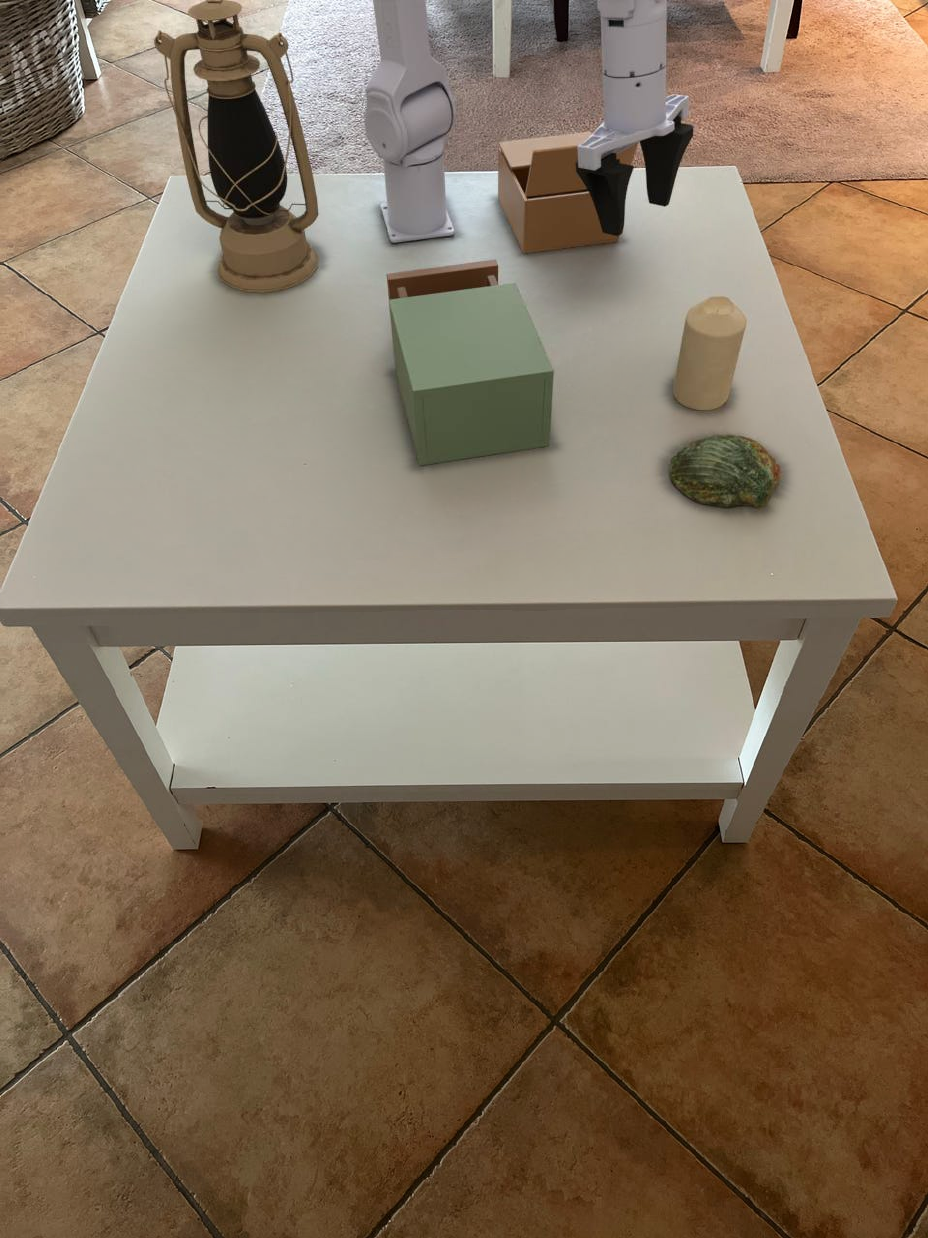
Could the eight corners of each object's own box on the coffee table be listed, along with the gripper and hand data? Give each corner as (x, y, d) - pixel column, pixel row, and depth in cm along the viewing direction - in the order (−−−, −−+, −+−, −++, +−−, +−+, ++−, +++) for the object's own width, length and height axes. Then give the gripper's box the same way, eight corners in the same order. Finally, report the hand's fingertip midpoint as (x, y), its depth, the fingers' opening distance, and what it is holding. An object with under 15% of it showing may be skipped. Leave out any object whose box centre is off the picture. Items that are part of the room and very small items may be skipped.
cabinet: (395, 373, 95) (388, 299, 88) (514, 357, 96) (515, 282, 89) (419, 466, 86) (412, 391, 79) (549, 446, 87) (554, 370, 80)
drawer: (386, 310, 101) (380, 252, 95) (487, 296, 102) (487, 238, 96) (412, 409, 90) (407, 350, 84) (525, 392, 91) (527, 333, 85)
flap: (624, 182, 105) (624, 184, 105) (525, 194, 103) (525, 196, 103) (638, 137, 98) (639, 140, 98) (532, 150, 97) (533, 152, 97)
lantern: (194, 289, 106) (109, -12, 82) (223, 236, 113) (152, -54, 90) (316, 295, 104) (265, -10, 81) (337, 241, 112) (296, -53, 88)
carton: (618, 241, 110) (624, 182, 105) (523, 253, 109) (524, 194, 103) (586, 187, 119) (590, 130, 113) (497, 198, 117) (498, 141, 112)
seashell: (747, 393, 84) (815, 459, 79) (741, 427, 88) (805, 493, 82) (653, 430, 83) (714, 500, 77) (650, 463, 86) (708, 533, 80)
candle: (727, 413, 89) (749, 324, 82) (670, 407, 90) (687, 318, 82) (729, 379, 93) (750, 290, 85) (674, 374, 93) (690, 285, 86)
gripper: (618, 98, 78) (622, 254, 87) (718, 46, 84) (711, 197, 93) (556, 90, 82) (566, 240, 91) (655, 41, 88) (655, 186, 97)
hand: (636, 218), depth 93 cm, fingers open, 7 cm apart
